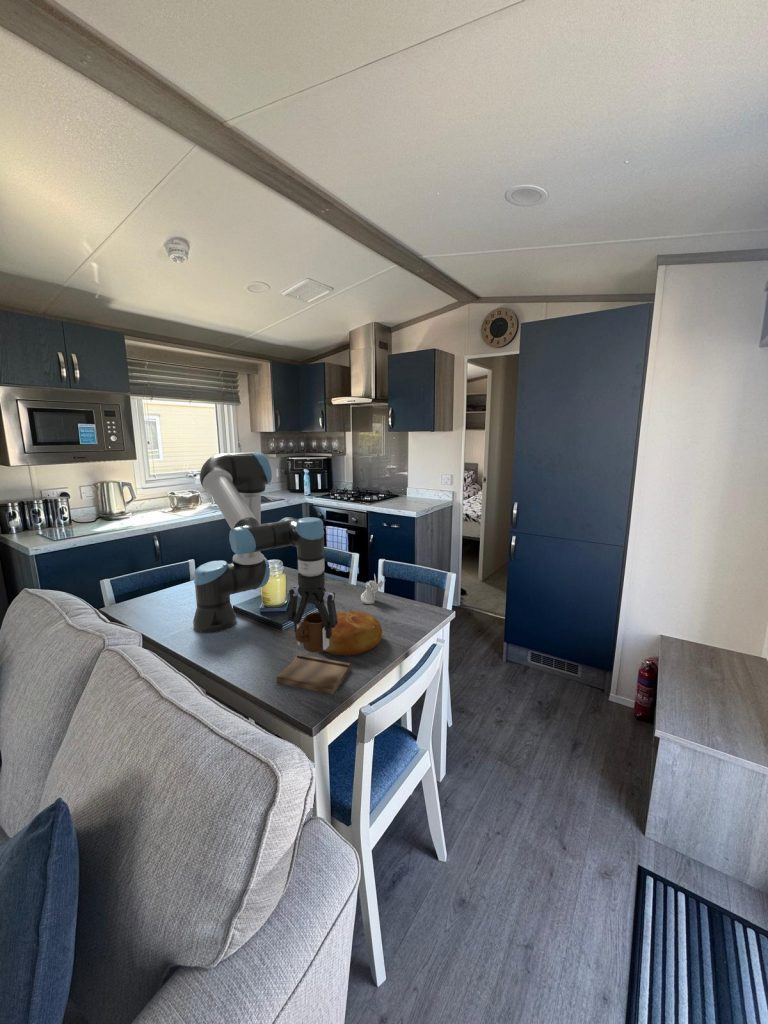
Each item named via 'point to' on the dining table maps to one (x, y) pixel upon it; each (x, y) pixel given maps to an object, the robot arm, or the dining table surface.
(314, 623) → the mug
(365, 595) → the figurine
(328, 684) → the board
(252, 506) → the robot arm
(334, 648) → the bread
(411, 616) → the dining table surface
